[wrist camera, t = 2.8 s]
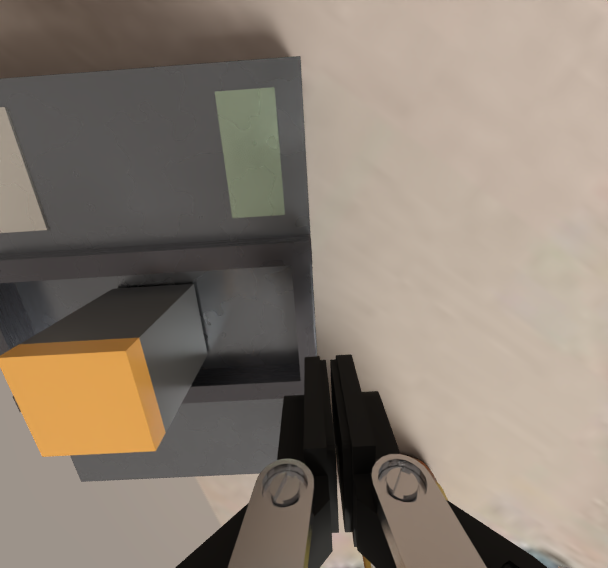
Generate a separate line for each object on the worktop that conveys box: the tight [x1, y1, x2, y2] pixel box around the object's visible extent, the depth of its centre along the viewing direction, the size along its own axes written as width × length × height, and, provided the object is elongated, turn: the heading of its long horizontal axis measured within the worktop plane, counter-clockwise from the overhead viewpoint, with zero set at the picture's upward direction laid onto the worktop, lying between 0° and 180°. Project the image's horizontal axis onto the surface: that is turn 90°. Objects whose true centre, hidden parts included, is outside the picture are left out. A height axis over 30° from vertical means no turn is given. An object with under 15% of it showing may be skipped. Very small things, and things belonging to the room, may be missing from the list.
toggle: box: [0, 284, 208, 457], centre depth 13 cm, size 4×4×6 cm
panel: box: [0, 56, 317, 482], centre depth 16 cm, size 22×16×4 cm
